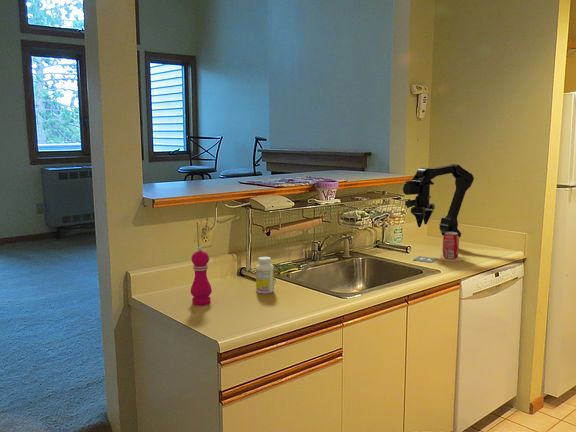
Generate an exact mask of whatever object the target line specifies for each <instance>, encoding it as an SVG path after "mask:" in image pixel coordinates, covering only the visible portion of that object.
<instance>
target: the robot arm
mask: <svg viewBox="0 0 576 432" xmlns="http://www.w3.org/2000/svg"><path fill="white" fill-rule="evenodd" d="M449 174H450V175H452V177H454V179H455V180H454V185H455V191H454V194H453V198H452V199H451V203H450V206H449V208H448V211H447V215H445V217H443V216H442V217H441V218H440V223H439V224H438V225H439V228H438V229H439V231H440V233H441V236H444V235H445V232H457V233H458V236H459V239H460V238H461V237H462V232H461V231H460V230H459V229H458V227H459V221H458V216H459V213H460V210H461V207H462V204H463V202H464V198H465V195H466V193H467V191H468V190H469V189H470V188H471V186H472V185H473V183H474V181H475V180H474V179H475V178H474V174H472V173H471V172H469V171H468V170H466V169H465V168H463V167H462V166H461V165H460V164H458V163H457V164H456V163H451V164H447V165H443V166H436V167H419V168H417V170H416V172H415V174H414V176H413V177H412V179H411V180H405V183H404V185H403V187H402V191H403V193H404V195H406V196H412V195H413V196H414V195H416V196H415V198H414V199H412V200H411V199H410V198H408V199H407V200H408V201H406V200H405V203H404V206H406V208H407V209H409V208H410V214H412V215H413V216H414V217H415V220H416V224H417V227H418V228H421V227H422V225H423V224H424V225H427V224H428V222H429V221H430V218H431V217H432V214H433V213H434V210H435V209H436V205H435V204H434V203H431V202H430V199H431V198H432V196H431V195H430V194H431V193H430V192H431V186H432V185H433V186H434V185H435V183H434V182H433V181H432V180H433V179H435V178H436V177H440V176H444V175H449Z"/></svg>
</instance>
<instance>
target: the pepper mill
mask: <svg viewBox="0 0 576 432" xmlns="http://www.w3.org/2000/svg"><path fill="white" fill-rule="evenodd" d="M209 261H210V257H209V254H208V253H207V251H204V250H203V247H202V246H198V247H197V251H195V252H194V253H192V255H191V262H192V264H193V266H192V267H193V268H192V270H193V271H194V278H193V282H192V283H191V286H190V294H191V296H192V301H191V302H192V304H193V305H194V306H199V307H200V306H201V307H202V306H207V305H210V304H211V297H210V295H211V294H212V293H213V292H212V291H213V290H212V285H211V283H210V280H209V279H208V276H207V275H208V274H207V270H208V269H209V266H208V263H209Z"/></svg>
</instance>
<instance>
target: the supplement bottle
mask: <svg viewBox="0 0 576 432" xmlns="http://www.w3.org/2000/svg"><path fill="white" fill-rule="evenodd" d="M257 261H258V264H256V266H255V288H256V289H255V290H256V292H257V293H258V294H262V295H264V294H265V295H266V294H271V293H273V292H274V291H275V272H274V271H275V268H274V267H275V266H274V265H273V264H272V263H271V262H272V258H271V256H259V257H258V260H257Z"/></svg>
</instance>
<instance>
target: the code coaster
mask: <svg viewBox="0 0 576 432" xmlns="http://www.w3.org/2000/svg"><path fill="white" fill-rule="evenodd" d="M438 259H439V258H438V257H429V256H423V255H422V256H419V255H418V256H417V257H414V258H413V259H412V261H415V262H421V263H422V262H424V263H430V264H431V263H434V262H435V261H437V260H438Z"/></svg>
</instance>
